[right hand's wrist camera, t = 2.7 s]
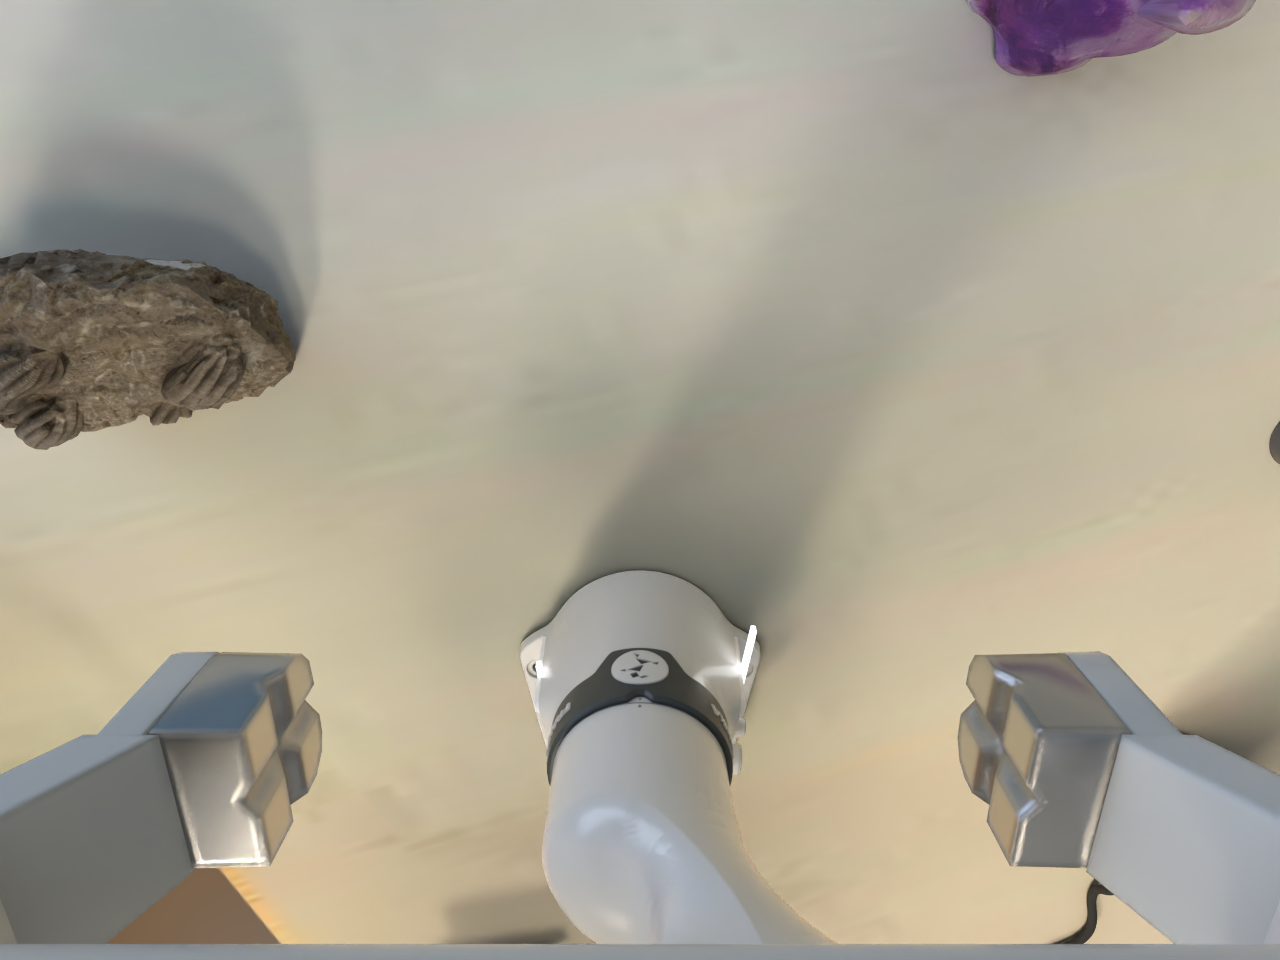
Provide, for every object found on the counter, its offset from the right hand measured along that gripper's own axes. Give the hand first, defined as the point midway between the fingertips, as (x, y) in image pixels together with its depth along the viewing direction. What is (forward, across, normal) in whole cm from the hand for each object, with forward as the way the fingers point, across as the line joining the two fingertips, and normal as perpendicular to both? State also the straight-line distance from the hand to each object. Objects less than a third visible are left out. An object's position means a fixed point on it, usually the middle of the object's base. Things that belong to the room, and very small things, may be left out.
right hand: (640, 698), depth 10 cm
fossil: (+48, -34, -6) cm, 59 cm away
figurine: (+48, +25, +14) cm, 56 cm away
